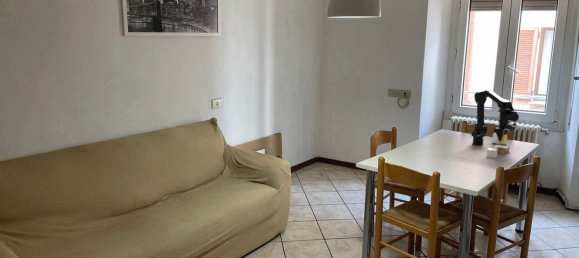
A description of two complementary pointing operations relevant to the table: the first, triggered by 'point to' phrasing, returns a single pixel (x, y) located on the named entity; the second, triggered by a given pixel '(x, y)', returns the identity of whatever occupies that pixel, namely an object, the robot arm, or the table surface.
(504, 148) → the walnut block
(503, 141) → the ochre block
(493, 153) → the grey block
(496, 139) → the medicine bottle
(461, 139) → the table surface
